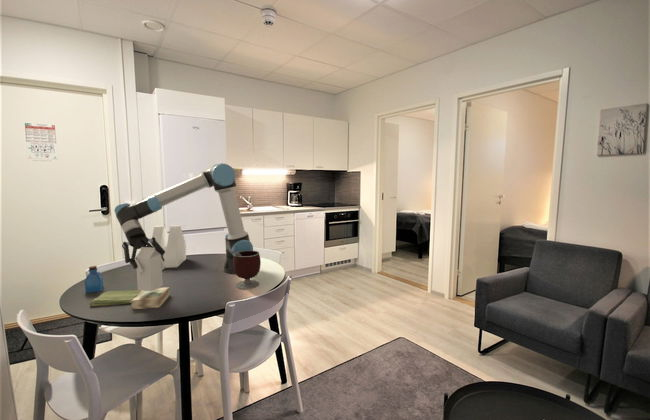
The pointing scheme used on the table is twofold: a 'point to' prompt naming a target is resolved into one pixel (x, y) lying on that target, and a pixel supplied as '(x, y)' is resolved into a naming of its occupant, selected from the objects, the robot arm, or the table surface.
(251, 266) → the dark red goblet
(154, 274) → the milk carton
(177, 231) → the white notched block
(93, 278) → the perfume bottle
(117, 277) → the table surface
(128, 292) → the washcloth
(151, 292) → the beige book
